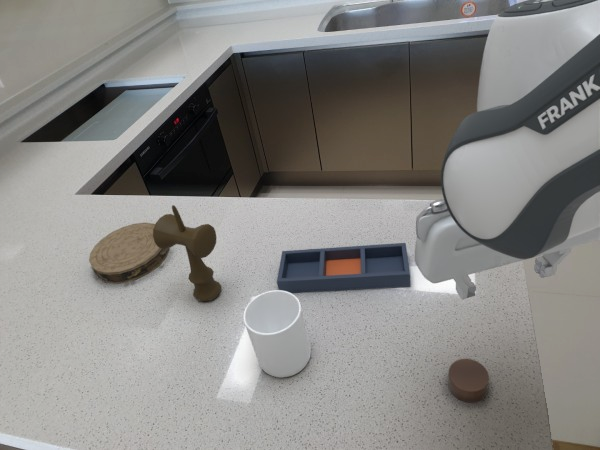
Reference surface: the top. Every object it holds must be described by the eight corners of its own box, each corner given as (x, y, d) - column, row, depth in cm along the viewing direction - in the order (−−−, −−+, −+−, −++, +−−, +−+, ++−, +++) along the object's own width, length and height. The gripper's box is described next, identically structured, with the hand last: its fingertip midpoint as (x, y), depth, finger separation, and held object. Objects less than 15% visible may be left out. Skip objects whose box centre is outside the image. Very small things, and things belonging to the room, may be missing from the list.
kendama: (198, 276, 89) (163, 190, 77) (238, 288, 85) (207, 199, 73) (178, 297, 85) (138, 211, 73) (219, 311, 81) (183, 221, 69)
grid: (410, 286, 78) (410, 274, 76) (279, 293, 82) (276, 281, 80) (405, 255, 84) (405, 242, 82) (285, 262, 88) (282, 250, 86)
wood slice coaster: (113, 295, 89) (107, 284, 87) (84, 261, 99) (77, 251, 97) (183, 251, 96) (178, 240, 94) (148, 224, 107) (144, 214, 105)
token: (491, 402, 60) (493, 391, 58) (451, 402, 61) (452, 391, 59) (482, 369, 64) (484, 358, 62) (445, 369, 64) (445, 359, 63)
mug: (238, 339, 75) (221, 295, 69) (280, 313, 78) (268, 269, 72) (276, 390, 66) (261, 345, 60) (322, 358, 69) (312, 312, 63)
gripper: (430, 226, 40) (428, 328, 49) (645, 170, 42) (607, 279, 50) (403, 189, 45) (406, 287, 54) (595, 141, 47) (569, 244, 55)
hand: (504, 283), depth 52 cm, fingers open, 8 cm apart
